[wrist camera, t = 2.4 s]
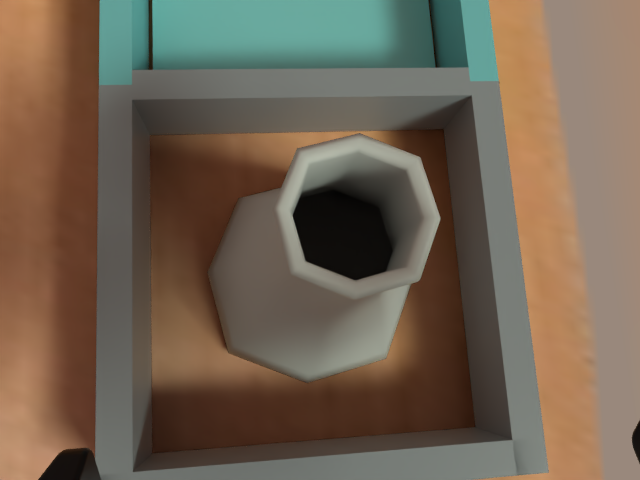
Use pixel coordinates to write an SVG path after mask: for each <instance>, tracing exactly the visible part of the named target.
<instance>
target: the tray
mask: <svg viewBox="0 0 640 480" xmlns="http://www.w3.org/2000/svg"><path fill="white" fill-rule="evenodd" d="M430 8H431V17H432V26H433V36H434V45H435V54H436V64H437V68H436V67H435V58H434V48H433V39H432V30H431V20H430V11H429V1H428V0H152V15H153V70H149V0H100V23H99V125H98V227H97V329H96V431H95V461H96V464H97V467H98V471H99V474H100V477H101V480H473V479H483V478H494V477H505V476H516V475H527V474H538V473H549V470H548V463H547V455H546V447H545V439H544V431H543V424H542V416H541V408H540V400H539V392H538V384H537V377H536V369H535V361H534V353H533V345H532V338H531V330H530V322H529V314H528V306H527V298H526V291H525V283H524V275H523V267H522V259H521V252H520V244H519V236H518V228H517V220H516V212H515V205H514V197H513V189H512V181H511V173H510V166H509V158H508V150H507V142H506V134H505V126H504V119H503V111H502V103H501V95H500V87H499V80H498V72H497V64H496V56H495V48H494V40H493V33H492V25H491V17H490V9H489V1H488V0H430ZM430 129H444V138H445V148H446V157H447V166H448V176H449V185H450V194H451V204H452V213H453V222H454V232H455V241H456V250H457V260H458V269H459V278H460V288H461V297H462V306H463V316H464V325H465V334H466V344H467V353H468V362H469V372H470V381H471V390H472V400H473V409H474V418H475V427H471V428H458V429H446V430H434V431H421V432H409V433H397V434H384V435H372V436H360V437H347V438H335V439H323V440H310V441H298V442H286V443H274V444H261V445H249V446H237V447H224V448H212V449H200V450H187V451H175V452H163V453H152V353H151V221H150V135H179V134H229V133H280V132H330V131H380V130H430Z"/></svg>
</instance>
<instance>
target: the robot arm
mask: <svg viewBox="0 0 640 480" xmlns="http://www.w3.org/2000/svg"><path fill="white" fill-rule="evenodd" d="M632 443H633V448H634V451H635V453H636V456H637V458H638V460H639V463H640V421H639V422H638V424H637V426H636V428H635V430H634V432H633V435H632ZM38 480H101V477H100V474H99V471H98V467H97V464H96V461H95V458H94V455H93V452H92V450H90V449H89V448H77V449H66V450H63V451H62V452H60V453H59V454H58V455H57V456H56V458H55V459H54V460H53V461H52V463H51V464H50V465H49V467H48V468H47V469H46V470H45V472H44V473H43V474H42V476H41V477H40V478H39V479H38Z"/></svg>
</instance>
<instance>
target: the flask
mask: <svg viewBox="0 0 640 480" xmlns="http://www.w3.org/2000/svg"><path fill="white" fill-rule="evenodd" d="M440 219H441V218H440V215H439V212H438V209H437V206H436V203H435V200H434V197H433V194H432V191H431V188H430V185H429V182H428V179H427V176H426V173H425V170H424V167H423V164H422V161H421V158H420V157H418V156H416V155H413V154H411V153H408V152H406V151H403V150H401V149H398V148H396V147H393V146H391V145H388V144H386V143H383V142H381V141H378V140H375V139H373V138H370V137H368V136H365V135H363V134H360V133H359V134H355V135H351V136H347V137H343V138H339V139H334V140H330V141H326V142H322V143H318V144H314V145H310V146H306V147H302V148H297V150H296V153H295V155H294V158H293V160H292V162H291V165H290V167H289V170H288V172H287V175H286V177H285V180H284V182H283V185H282V187H281V188H277V189H273V190H269V191H265V192H261V193H257V194H253V195H249V196H245V197H241V198H239V199H238V201H237V203H236V206H235V208H234V210H233V213H232V215H231V218H230V220H229V222H228V225H227V227H226V229H225V232H224V234H223V236H222V239H221V241H220V244H219V246H218V248H217V251H216V253H215V255H214V258H213V260H212V263H211V265H210V267H209V270H208V272H207V273H208V277H209V280H210V284H211V288H212V292H213V296H214V299H215V303H216V307H217V311H218V315H219V318H220V322H221V326H222V330H223V334H224V338H225V341H226V345H227V349H228V353H230V354H232V355H235V356H238V357H240V358H243V359H245V360H248V361H251V362H253V363H256V364H259V365H261V366H264V367H266V368H269V369H272V370H274V371H277V372H280V373H282V374H285V375H287V376H290V377H293V378H295V379H298V380H301V381H303V382H306V383H309V382H312V381H316V380H319V379H322V378H325V377H328V376H332V375H335V374H338V373H341V372H345V371H348V370H351V369H354V368H358V367H361V366H364V365H367V364H371V363H374V362H377V361H380V360H383V359H386V357H387V354H388V351H389V348H390V346H391V343H392V340H393V337H394V334H395V331H396V328H397V325H398V322H399V319H400V316H401V313H402V310H403V307H404V304H405V301H406V298H407V295H408V292H409V289H410V286H411V284H412V283H415V282H418V281H419V280H420V279H421V276H422V273H423V270H424V267H425V264H426V261H427V258H428V255H429V252H430V249H431V246H432V243H433V240H434V237H435V234H436V231H437V228H438V225H439V222H440Z"/></svg>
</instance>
